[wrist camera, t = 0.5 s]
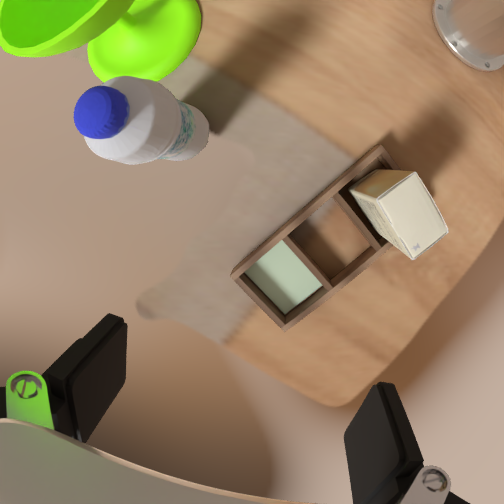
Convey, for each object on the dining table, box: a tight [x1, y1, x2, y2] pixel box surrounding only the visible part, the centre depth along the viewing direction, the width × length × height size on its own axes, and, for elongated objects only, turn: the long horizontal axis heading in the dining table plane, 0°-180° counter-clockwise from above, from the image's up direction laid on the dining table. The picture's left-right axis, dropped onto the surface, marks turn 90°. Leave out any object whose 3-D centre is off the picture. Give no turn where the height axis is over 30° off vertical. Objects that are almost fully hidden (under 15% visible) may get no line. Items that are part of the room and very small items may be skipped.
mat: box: [245, 240, 322, 314], centre depth 38 cm, size 6×7×1 cm
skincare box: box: [348, 169, 448, 260], centre depth 29 cm, size 6×4×12 cm
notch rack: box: [230, 145, 401, 332], centre depth 35 cm, size 22×9×2 cm, turn 133°
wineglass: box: [0, 0, 201, 82], centre depth 22 cm, size 16×16×18 cm
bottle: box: [74, 76, 209, 164], centre depth 25 cm, size 7×7×20 cm
